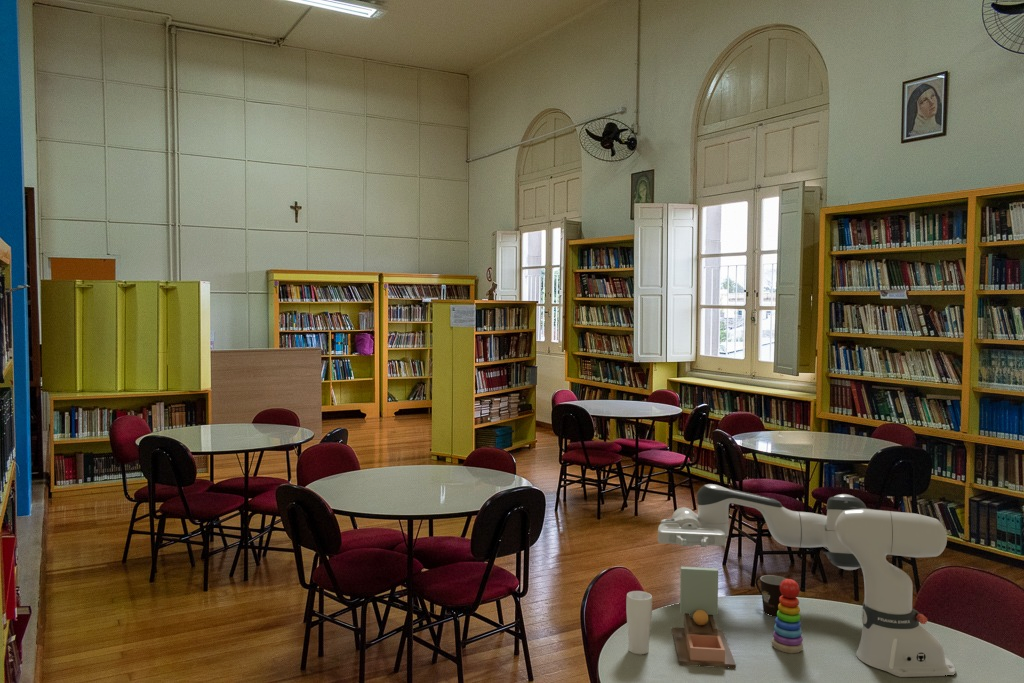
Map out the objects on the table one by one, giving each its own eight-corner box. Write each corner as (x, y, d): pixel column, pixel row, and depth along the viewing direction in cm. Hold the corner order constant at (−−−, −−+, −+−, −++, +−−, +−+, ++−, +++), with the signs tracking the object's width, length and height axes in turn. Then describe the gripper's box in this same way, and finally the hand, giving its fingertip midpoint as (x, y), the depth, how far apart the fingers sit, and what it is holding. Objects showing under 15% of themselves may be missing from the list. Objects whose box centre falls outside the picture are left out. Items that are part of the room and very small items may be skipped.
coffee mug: (794, 618, 218) (794, 585, 218) (765, 618, 218) (765, 584, 218) (780, 603, 230) (781, 572, 230) (752, 603, 230) (753, 571, 230)
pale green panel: (716, 616, 206) (717, 568, 205) (717, 619, 204) (718, 570, 203) (679, 614, 207) (680, 566, 207) (680, 617, 205) (681, 568, 205)
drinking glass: (651, 658, 192) (652, 601, 191) (625, 655, 193) (625, 598, 193) (651, 646, 198) (652, 591, 198) (626, 644, 200) (627, 589, 199)
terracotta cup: (719, 648, 195) (719, 635, 195) (724, 663, 187) (725, 650, 187) (686, 646, 196) (686, 633, 196) (690, 661, 188) (690, 647, 188)
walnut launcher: (722, 633, 207) (722, 612, 207) (735, 668, 186) (736, 644, 186) (671, 630, 209) (672, 609, 209) (679, 664, 188) (679, 640, 188)
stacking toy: (766, 647, 198) (768, 579, 198) (779, 638, 204) (780, 571, 204) (795, 657, 193) (797, 586, 193) (807, 647, 199) (809, 578, 198)
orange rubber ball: (707, 622, 203) (707, 607, 202) (709, 628, 199) (709, 613, 199) (692, 621, 203) (692, 607, 203) (694, 627, 199) (694, 612, 199)
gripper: (722, 542, 230) (729, 556, 217) (655, 539, 233) (659, 552, 219) (722, 522, 230) (730, 534, 217) (656, 519, 233) (659, 531, 219)
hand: (693, 543), depth 218 cm, fingers open, 4 cm apart
